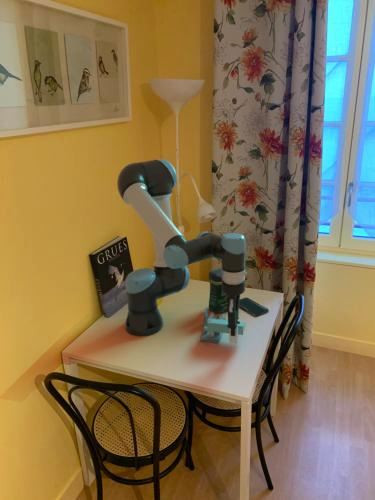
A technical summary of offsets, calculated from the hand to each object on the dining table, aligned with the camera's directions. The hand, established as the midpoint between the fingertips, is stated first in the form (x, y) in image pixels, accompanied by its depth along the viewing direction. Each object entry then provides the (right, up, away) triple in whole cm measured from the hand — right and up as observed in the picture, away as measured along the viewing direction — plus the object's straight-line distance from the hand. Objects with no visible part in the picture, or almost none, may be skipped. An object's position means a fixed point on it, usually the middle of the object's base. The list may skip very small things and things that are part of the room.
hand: (233, 341), depth 140 cm
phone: (+11, +7, +34) cm, 37 cm away
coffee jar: (-2, +6, +34) cm, 35 cm away
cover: (-2, +3, +10) cm, 10 cm away
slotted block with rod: (-6, 0, +17) cm, 18 cm away
